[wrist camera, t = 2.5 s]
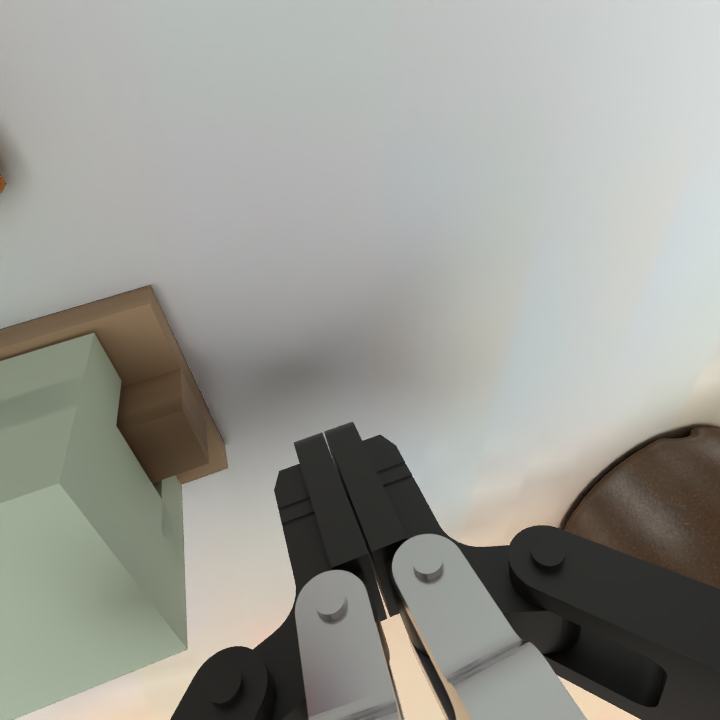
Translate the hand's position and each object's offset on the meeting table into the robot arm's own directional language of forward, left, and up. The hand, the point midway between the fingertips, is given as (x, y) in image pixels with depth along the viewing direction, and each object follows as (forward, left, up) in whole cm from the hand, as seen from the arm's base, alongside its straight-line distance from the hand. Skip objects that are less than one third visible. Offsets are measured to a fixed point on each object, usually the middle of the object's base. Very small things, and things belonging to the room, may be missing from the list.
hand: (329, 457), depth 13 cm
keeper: (0, -7, -4) cm, 8 cm away
